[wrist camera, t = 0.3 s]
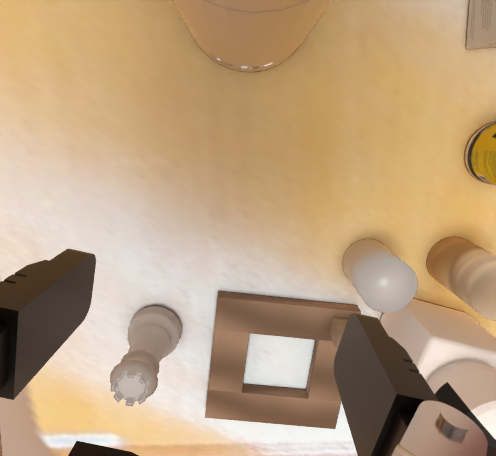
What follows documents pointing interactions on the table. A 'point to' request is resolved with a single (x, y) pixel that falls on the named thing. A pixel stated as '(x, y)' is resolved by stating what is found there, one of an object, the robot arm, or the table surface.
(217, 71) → the table surface
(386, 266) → the short grey peg
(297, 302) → the hole board
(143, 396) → the rook chess piece
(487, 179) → the supplement bottle
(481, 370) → the medicine bottle
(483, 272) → the medium beech peg
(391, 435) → the robot arm
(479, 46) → the small box
